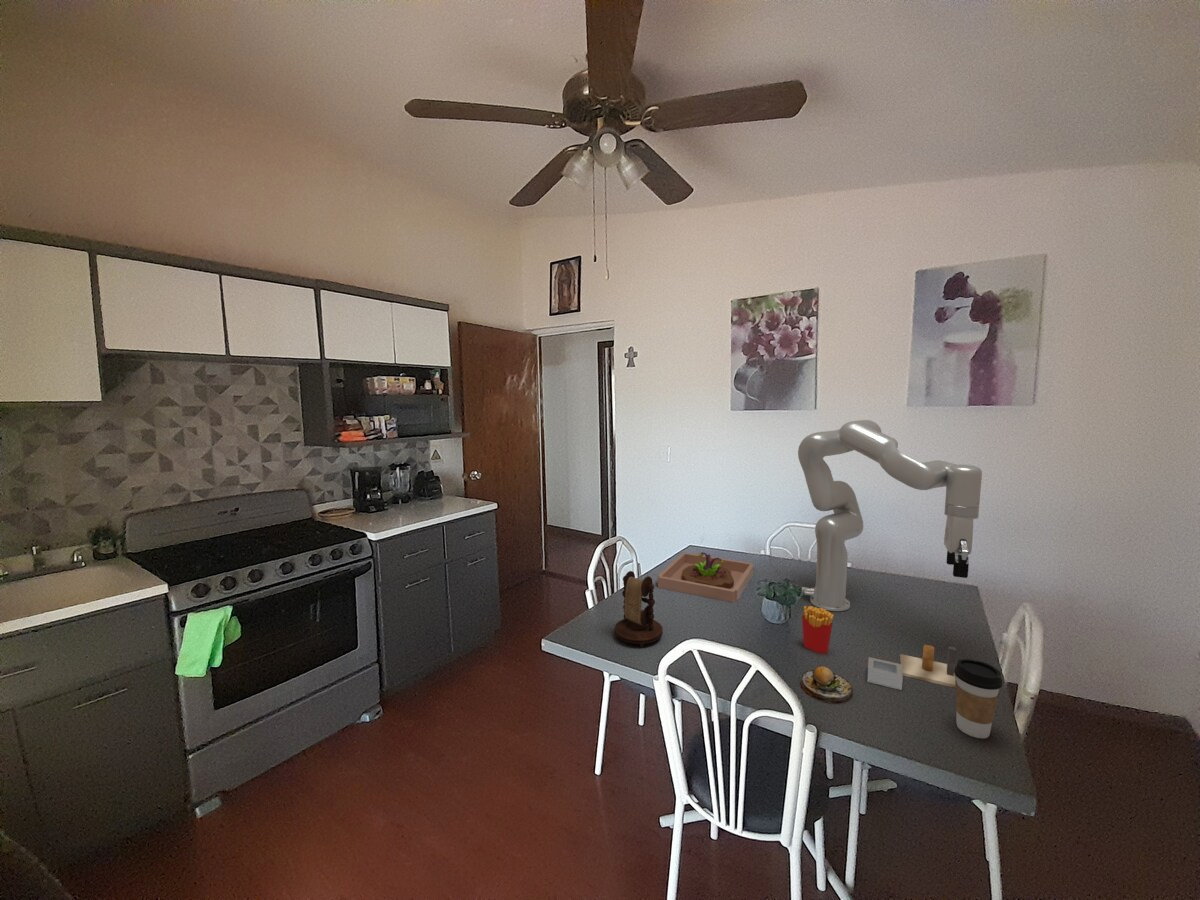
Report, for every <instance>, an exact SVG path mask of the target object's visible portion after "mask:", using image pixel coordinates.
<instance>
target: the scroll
mask: <svg viewBox="0 0 1200 900" xmlns="http://www.w3.org/2000/svg"><path fill="white" fill-rule="evenodd" d="M622 581H623V590H622V592H621V593H622V596H623V598H624V600H623V605H622V609H623V619H621V620H619V621H617V623H615V625H614V634H615V637H616V638H618V639H619V640H621V641H622V642H626V643H628V644H633V645H634V644H635V645H639V646H640V648H644V645H645V644H650V643H654V642H656V641H658V640H660V639H661V637H662V636H663V633H664V631H663V626H662V624H661V623H660V622H659V621H657V620H656V619H654V618H655V614H654V612H655V611H654V605H655V604H656V601H655V599H654V589H655V585H654V584H653V578H652V577H651V576H648V575H647V576H645V577H644V579H641V578H637V577H636V575H635V573H634V571H633V570H629V571H628V572H627V573H626V574H625V575H624V576H623V577H622ZM642 602H643V603H644V604H647V605H646V606H645V607H644V609H642Z"/></svg>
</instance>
